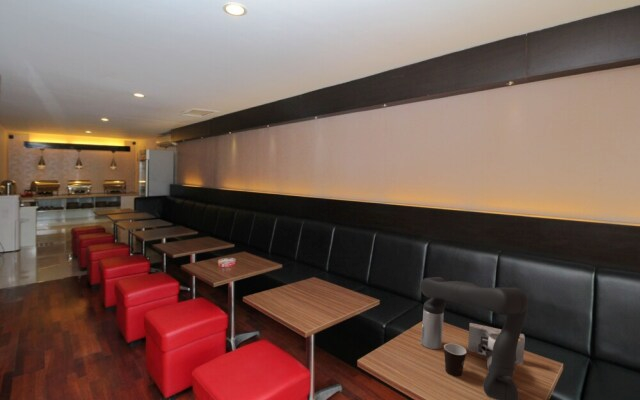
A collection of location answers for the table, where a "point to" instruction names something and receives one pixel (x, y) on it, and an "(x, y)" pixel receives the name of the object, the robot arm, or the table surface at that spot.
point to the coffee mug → (454, 359)
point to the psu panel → (482, 334)
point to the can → (492, 340)
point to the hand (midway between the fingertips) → (495, 345)
